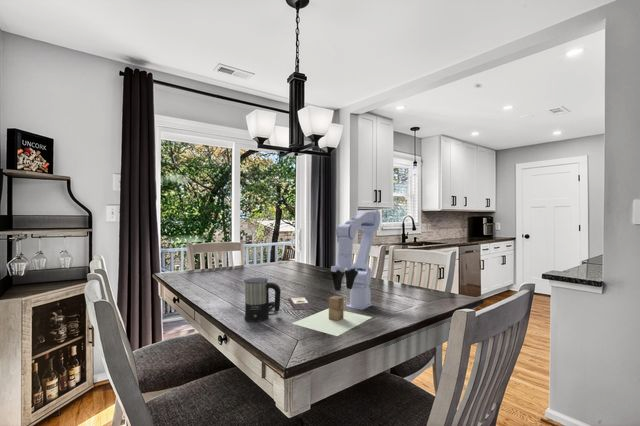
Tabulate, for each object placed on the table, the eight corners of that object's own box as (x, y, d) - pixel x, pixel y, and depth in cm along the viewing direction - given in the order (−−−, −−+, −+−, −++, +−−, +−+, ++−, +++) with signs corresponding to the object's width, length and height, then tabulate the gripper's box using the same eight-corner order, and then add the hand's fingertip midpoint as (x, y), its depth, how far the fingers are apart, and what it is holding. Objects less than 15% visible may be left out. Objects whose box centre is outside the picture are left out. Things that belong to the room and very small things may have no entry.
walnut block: (334, 316, 126) (334, 295, 126) (343, 318, 124) (343, 297, 124) (328, 319, 123) (328, 297, 123) (337, 321, 121) (337, 299, 121)
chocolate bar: (295, 309, 134) (288, 298, 152) (295, 312, 134) (288, 300, 152) (316, 308, 137) (307, 297, 154) (316, 310, 137) (307, 299, 154)
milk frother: (245, 323, 120) (245, 282, 119) (240, 311, 134) (240, 275, 134) (283, 318, 125) (283, 280, 125) (274, 307, 139) (274, 272, 139)
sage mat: (329, 308, 137) (329, 307, 137) (372, 318, 125) (372, 317, 125) (291, 324, 118) (291, 323, 118) (337, 337, 106) (337, 336, 106)
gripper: (342, 255, 120) (340, 292, 119) (363, 255, 131) (362, 289, 130) (327, 254, 125) (325, 290, 124) (349, 253, 136) (348, 287, 135)
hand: (343, 289), depth 127 cm, fingers open, 7 cm apart
